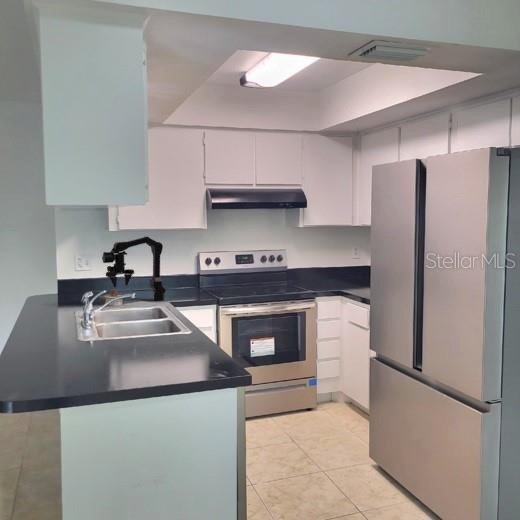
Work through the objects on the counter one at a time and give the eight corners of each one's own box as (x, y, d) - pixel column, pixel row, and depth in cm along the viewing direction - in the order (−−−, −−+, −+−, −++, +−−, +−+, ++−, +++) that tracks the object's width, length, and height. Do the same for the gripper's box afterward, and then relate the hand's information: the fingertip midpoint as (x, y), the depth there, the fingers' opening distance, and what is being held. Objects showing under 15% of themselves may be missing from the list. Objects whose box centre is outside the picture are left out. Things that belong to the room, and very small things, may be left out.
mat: (141, 301, 341) (141, 301, 341) (160, 304, 331) (160, 303, 331) (121, 305, 327) (121, 304, 327) (140, 308, 317) (140, 307, 317)
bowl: (115, 303, 336) (114, 295, 335) (125, 304, 330) (125, 296, 330) (102, 305, 327) (102, 297, 327) (113, 306, 322) (113, 299, 321)
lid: (115, 295, 337) (115, 287, 337) (129, 296, 330) (128, 289, 330) (99, 297, 326) (98, 290, 326) (112, 299, 319) (112, 291, 319)
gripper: (122, 260, 339) (123, 283, 341) (99, 262, 324) (100, 287, 325) (134, 260, 333) (135, 284, 334) (111, 263, 318) (112, 288, 319)
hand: (120, 286), depth 328 cm, fingers open, 9 cm apart
